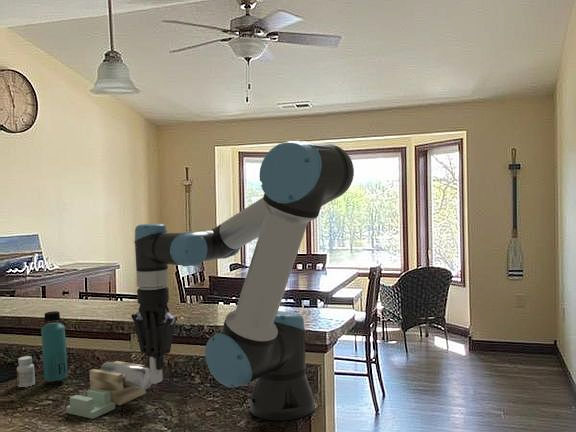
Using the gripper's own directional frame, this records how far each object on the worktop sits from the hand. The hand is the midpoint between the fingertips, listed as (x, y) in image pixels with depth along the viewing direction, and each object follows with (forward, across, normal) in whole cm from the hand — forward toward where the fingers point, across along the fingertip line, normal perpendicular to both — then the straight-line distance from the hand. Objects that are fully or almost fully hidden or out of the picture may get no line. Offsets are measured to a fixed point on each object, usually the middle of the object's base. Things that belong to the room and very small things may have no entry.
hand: (156, 381), depth 144 cm
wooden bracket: (+6, +13, 0) cm, 14 cm away
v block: (+6, +13, +10) cm, 17 cm away
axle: (0, +10, 0) cm, 10 cm away
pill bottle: (+6, +44, +4) cm, 45 cm away
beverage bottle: (+6, +38, -1) cm, 39 cm away
